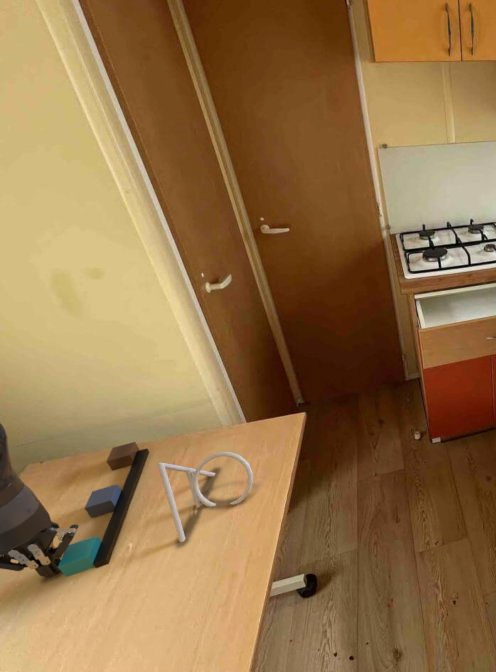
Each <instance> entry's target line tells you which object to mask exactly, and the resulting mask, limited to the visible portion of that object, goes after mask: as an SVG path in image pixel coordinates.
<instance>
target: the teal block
mask: <svg viewBox="0 0 496 672" xmlns="http://www.w3.org/2000/svg"><path fill="white" fill-rule="evenodd" d="M101 542H102V540H101V539H100V538H99V536H98V535H95V536H92V537H89V538H86V539H83V540H80V541H77V542H74V543H70V544H69V546H68V547H67V549H66V550H65V552H64V554H63V555H62V557H61V558H60V559H61V561H60V563H59V565H58V568H59V569H60V572H61V573H62V574H63V575H64V577H66V578H68V577H71V576H73V575H76V574H80V573H82V572H85V571H88V570H91V569H94V568H95V567H94V565H93V562H94V559H95V557H96V554H97V552H98V549H99V547H100V544H101Z"/></svg>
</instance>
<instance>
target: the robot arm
mask: <svg viewBox="0 0 496 672" xmlns="http://www.w3.org/2000/svg"><path fill="white" fill-rule="evenodd" d="M78 529H79V525H78V524H75V523H74V524H71V525H70V526H69V527H60V525H59V523H57V522H54V521H52V519H51V516H50V513H49V512H48V510H47V509H46V508H45V506H44V505H43V503H42V502H41V500H40V499H39V498H38V497H37V495H36V494H35V493H34V491H33V490H32V488H30V486H28V485H27V484H25V482H24V481H23V480H22V479H21V477H20V476H19V475H18V473H17V472H16V471H15V469H14V468H13V465H12V461H11V456H10V450H9V440H8V436H7V430H6V428H5V426H4V425H3V424H2V423H1V422H0V569H1V570H6V571H7V570H8V571H13V572H20V571H23V570H24V569H26V568H29V569H30V570H34V571H36V573H37V574H38V575H39V576H40V577H43V578H44V579H48V578H51V577H55V576H57V575H58V574H59V572H61V570H60V569H59V568H58V565H59V563H60V561H61V559H62V557H63V555H64V552H65V550H66V549H67V547H68V546H69V545H70V544H71V543H72V541H73V539H74V538H75V535H76V533H77V531H78ZM56 537H57V540H58V545H57V546H55V545H54V540H55V538H56ZM12 560H15V561H17V562H12Z"/></svg>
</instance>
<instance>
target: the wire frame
mask: <svg viewBox="0 0 496 672" xmlns="http://www.w3.org/2000/svg"><path fill="white" fill-rule="evenodd" d="M221 457H228V458H231V459H234V460H236V461H237V462H239V463H240V464H241V465H242V466H243V467H244V469H245V471H246V475H247V485H246V487H245V489H244V491H243V493H242V494H241V495H240V496H239V497H238V498H237V499H236V500H234V501H232V502H230V505H238V504H240V503H242V502H243V501H244V500H245V499H246V498H247V496H248V495H249V494H250V491H251V489H252V486H253V482H254V475H253V471H252V468H251V467H252V466H251V465H250V464H249V462H248V461H247V460H246V459H245V458H244V457H242V456H241V455H240V454H238V453H235V452H231V451H219V452H215V453H212V454H210V455H208V456H206V457H205V458H204V459H202V460H201V461H200V463H199V464H198V465H197V466H196V468H193V467H187V466H181V465H177V464H172V463H167V462H162V461H161V462H160V461H159V463H157V467H158V471H159V473H160V477H161V480H162V481H161V482H162V484H163V487H164V491H165V494H166V495H165V496H166V499H167V502H168V506H169V509H170V512H171V516H172V519H173V523H174V526H175V530H176V533H177V537H178V540H179V543H183V542H185V540H186V535H185V532H184V527H183V525H182V521H181V518H180V514H179V511H178V506H177V503H176V500H175V497H174V493H173V489H172V487H171V483H170V479H169V476H168V471H167V470H169V471H170V470H171V471H176V472H182V473H185V474H186V478H187V481H188V485H189V487H190V491H191V494H192V495H191V496H192V498H193V502H194V505H195V508H196V509H199V508H200V507H201V506H202V504H203V505H204V506H206V507H209V508H210V507H211V508H212V507H215V506H216V505H217V503H216V502H212V501H210V500H209V499H207V498H206V497H205V496H204V494H203V493H202V492H201V490H200V486H199V476H204V477H209V478H213V477H215V475H216V472H213V471H209V470H208V471H207V470H203V468H204V467H205V465H206V464H208V463H209V462H210V461H212V460H214V459H217V458H221Z"/></svg>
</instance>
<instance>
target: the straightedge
mask: <svg viewBox="0 0 496 672" xmlns="http://www.w3.org/2000/svg"><path fill="white" fill-rule="evenodd" d="M149 454H150V451H149V449H148V448H143V449H140V450H139V451H137V453H136V456H135V458H134V461H133V463H132V465H131V466H130V468H129V471H128V474H127V476H126V479H125V481H124V484H123V486H122V488H121V490H122V491H121V494H120V496H119V499H118V501H117V504H116V506H115V509H114V511H113V512H112V514H111V516H110V519H109V522H108V525H107V527H106V530H105V532H104V534H103V537H102V540H101V544H100V547H99V549H98V552H97V554H96V557H95V559H94V562H93V565H94V568H95V569H97V568H100V567H103V566H106V565H109V564H110V561H111V558H112V556H113V553H114V550H115V547H116V545H117V542H118V539H119V536H120V534H121V531H122V528H123V525H124V523H125V520H126V517H127V514H128V511H129V509H130V506H131V504H132V500H133V499H134V496H135V492H136V490H137V487H138V484H139V481H140V479H141V476H142V473H143V470H144V468H145V465H146V462H147V459H148V457H149Z"/></svg>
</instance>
